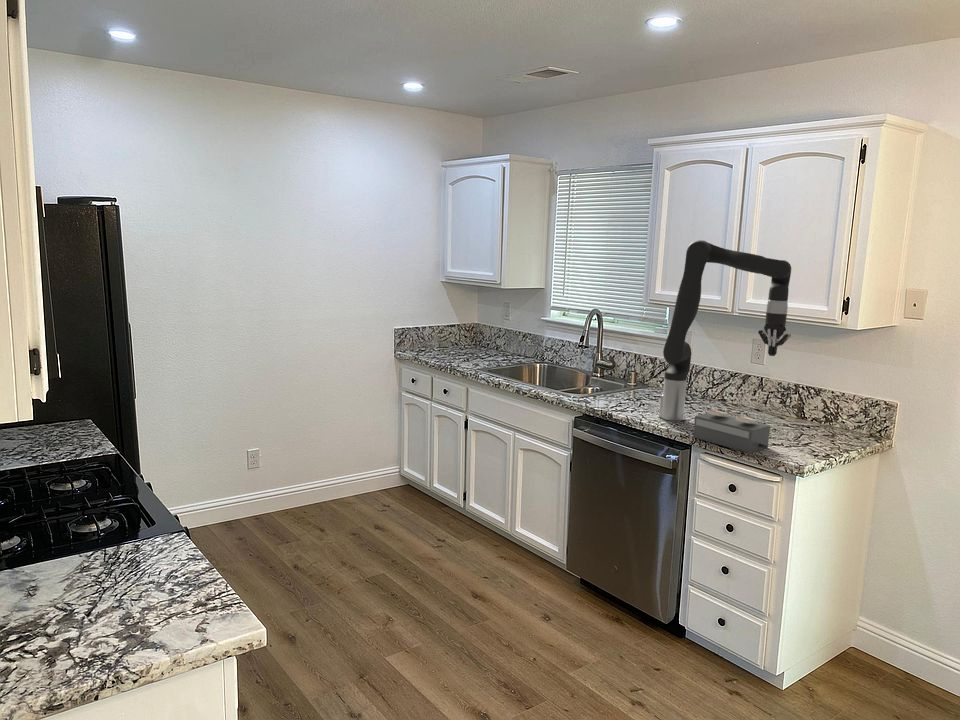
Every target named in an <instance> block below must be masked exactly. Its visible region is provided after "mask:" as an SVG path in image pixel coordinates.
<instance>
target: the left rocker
mask: <svg viewBox="0 0 960 720" xmlns="http://www.w3.org/2000/svg"><path fill="white" fill-rule="evenodd" d="M706 413H709V414H713V415H717V416H727V417H729V416H730V413H729V412H725V411H720V410H712V409H708V410H707V412H706Z"/></svg>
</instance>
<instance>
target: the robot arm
mask: <svg viewBox="0 0 960 720" xmlns="http://www.w3.org/2000/svg"><path fill="white" fill-rule="evenodd" d="M685 253H686V254H685V261H684V268H683V269H684V270H683V275H682V279H681V282H680V285H679V288H678V292H677V296H676V300H675V305H674V310H673V314H672V319H671V324H670V328H669V331H668V334H667V338H666V341H665V344H664V346H663V351H662V353H663V358H664V360H665V361H666V362H667V363H668V367H667V369H666V370H665V371H664V379H663V391H662V394H660V403H659V418H662V419H663V420H665V421H673V422H679V421H684V417H685V403H686V394H687V393H686V392H687V383H688V382H687V381H688V375H689V374H690V368H691V362H692V348H691V346H690V343H688V342H687V341H686V336H687V333H688V331H689V329H690V328H691V326H692V324H693V322H694V320H695V318H696V316H697V314H698V312H699V306H700V302H701V297H702V280H703V273H704V271H705V266H706V264H707V263H708V264H709V263H710V264H711V263H712V264H717V265H718V264H720V265H724V266H726V267H730V268H734V269H736V270H740V271H744V272H748V273H753V274H758V275H763V276H767V277H769V278H771V279H770V281H771V282H770V287H769V291H768V299H767V303H766V312H765V320H764V323H765V325H764V326H763V328H762V329H761V330H758V334H759V336H760V339H761V340H762V341H763V343H764V344H765V345H767V346H768V349H767V354H768V356H771V357H775V356H776V355H777V354H778V347H780V346H783V345H784V344H785V343H786V341H788V340H789V339H790V338H791V336H792V335H791V333H789V332H787V329H786V324H787V316H788V305H789V304H788V303H789V302H788V300H789V286H790V280H791V275H792V265H791V263H790V262H789V261H787V260H783V259H775V258H769V257H766V256H762V255H758V254H754V253H749V252H745V251H744V252H743V251H738V250H733V249H732V250H731V249H727V248H723V247H721V246H718V245H715V244H712V243H710V242H708V241H706V240H695V241H693V242H690V244H689V245H688V247H687V249H686V252H685ZM781 337H782V338H781Z"/></svg>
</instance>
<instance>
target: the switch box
mask: <svg viewBox="0 0 960 720" xmlns="http://www.w3.org/2000/svg"><path fill="white" fill-rule="evenodd" d="M736 417H737V416H732V415H729V417H727V416H717V415H713V414H709V413H707V412H706V413H702V414H697V415H695V416H694V425H693V436H692V437H693V438H695V439H699V440H700V441H701V440H702V441H706V442H708V443H712V444H716V445H719V446H723V447H727V448H731V449H734V450H738V451H742V452H744V453H749V454H751V453H752V454H753V453H755V452H759V451H762V450H767V449H768V447H769V441H770V431H771V425H769V424H766V423H761V422H758V423H745V422H741V421H737V420H735V419H736Z"/></svg>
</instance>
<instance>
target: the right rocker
mask: <svg viewBox="0 0 960 720" xmlns="http://www.w3.org/2000/svg"><path fill="white" fill-rule="evenodd" d="M735 417H736V419H735V420H737V421H741V422H745V423H759V420H758V419H756V418H755V419H754V418H749V417H743V416H742V417H741V416H735Z"/></svg>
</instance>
